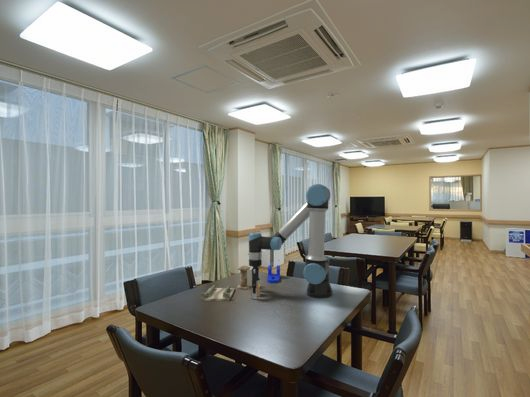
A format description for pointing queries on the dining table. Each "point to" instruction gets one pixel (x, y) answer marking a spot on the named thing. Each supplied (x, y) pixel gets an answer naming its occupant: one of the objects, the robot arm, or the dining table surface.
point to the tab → (257, 290)
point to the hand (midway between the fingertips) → (255, 294)
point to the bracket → (273, 275)
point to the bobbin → (243, 277)
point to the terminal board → (218, 294)
